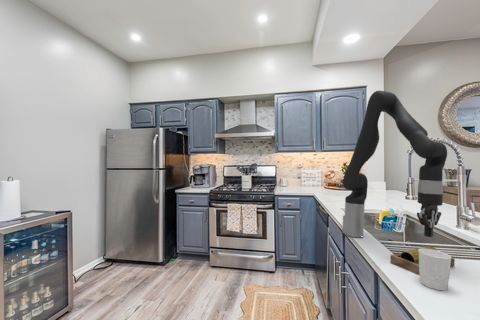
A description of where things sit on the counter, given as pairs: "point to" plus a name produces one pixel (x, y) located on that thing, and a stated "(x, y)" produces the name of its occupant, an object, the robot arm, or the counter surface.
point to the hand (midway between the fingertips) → (428, 236)
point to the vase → (414, 254)
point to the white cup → (434, 268)
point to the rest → (409, 263)
